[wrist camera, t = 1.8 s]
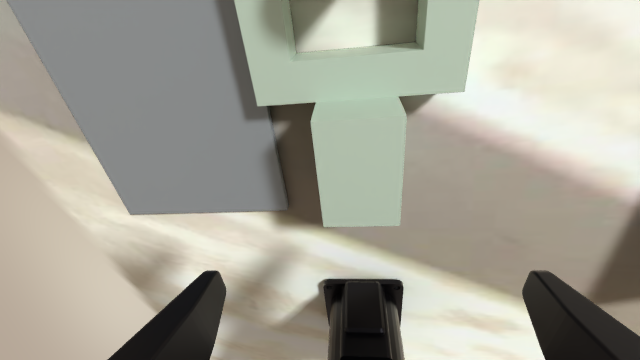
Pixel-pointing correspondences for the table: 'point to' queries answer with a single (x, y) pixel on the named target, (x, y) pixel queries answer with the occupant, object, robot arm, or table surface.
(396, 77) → the c link
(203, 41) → the mat
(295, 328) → the table surface
